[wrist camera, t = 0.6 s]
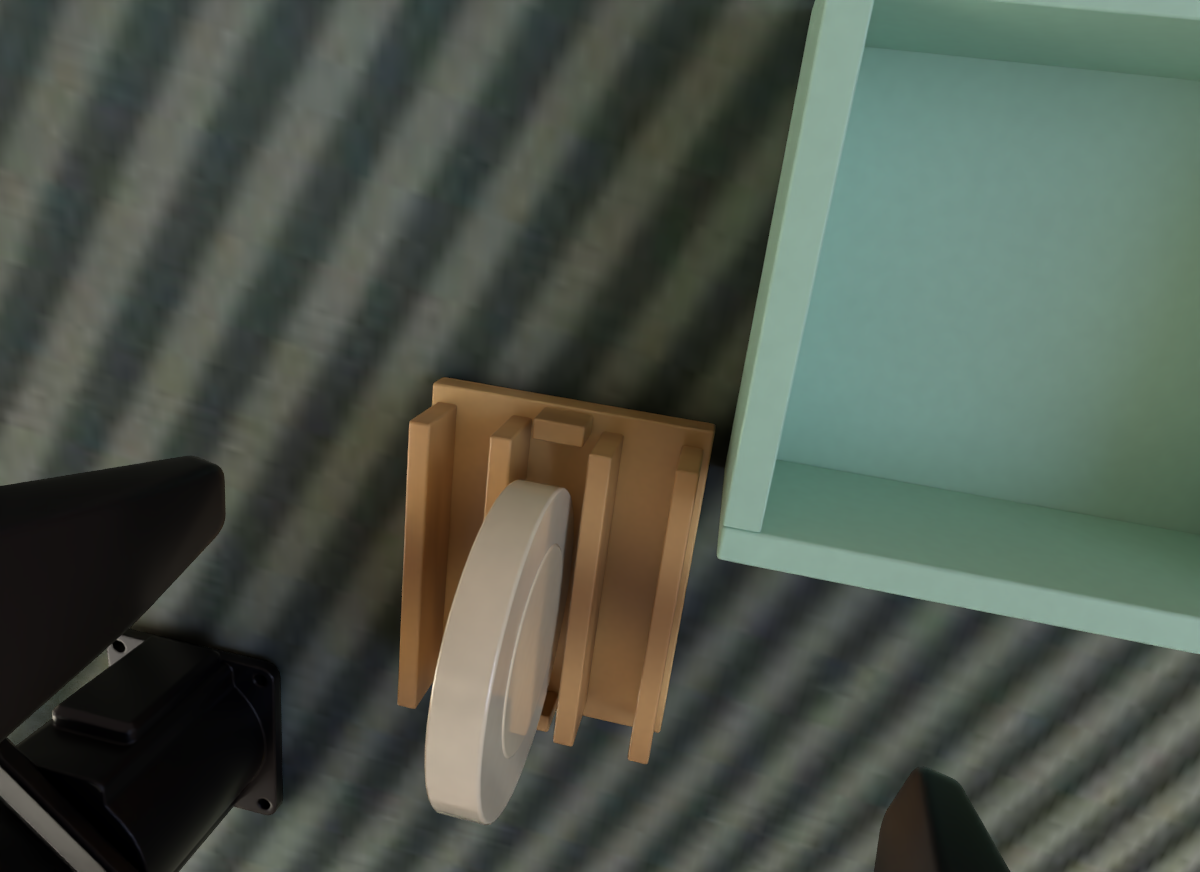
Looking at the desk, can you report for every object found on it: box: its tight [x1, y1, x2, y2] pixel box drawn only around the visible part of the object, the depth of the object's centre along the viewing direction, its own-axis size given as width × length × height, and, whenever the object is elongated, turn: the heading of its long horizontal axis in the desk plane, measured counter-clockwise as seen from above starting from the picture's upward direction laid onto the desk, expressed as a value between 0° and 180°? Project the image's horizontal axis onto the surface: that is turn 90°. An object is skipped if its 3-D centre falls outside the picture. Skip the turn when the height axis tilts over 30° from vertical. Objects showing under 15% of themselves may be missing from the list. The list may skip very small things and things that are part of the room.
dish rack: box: [398, 377, 716, 764], centre depth 22 cm, size 10×8×3 cm
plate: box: [425, 479, 574, 825], centre depth 19 cm, size 8×1×8 cm, turn 173°
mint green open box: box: [717, 0, 1200, 654], centre depth 16 cm, size 12×13×6 cm
